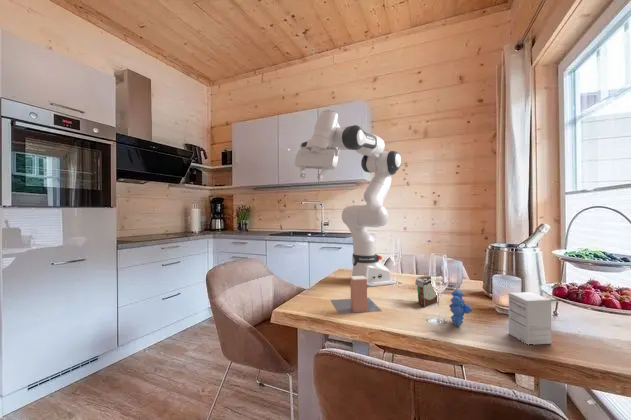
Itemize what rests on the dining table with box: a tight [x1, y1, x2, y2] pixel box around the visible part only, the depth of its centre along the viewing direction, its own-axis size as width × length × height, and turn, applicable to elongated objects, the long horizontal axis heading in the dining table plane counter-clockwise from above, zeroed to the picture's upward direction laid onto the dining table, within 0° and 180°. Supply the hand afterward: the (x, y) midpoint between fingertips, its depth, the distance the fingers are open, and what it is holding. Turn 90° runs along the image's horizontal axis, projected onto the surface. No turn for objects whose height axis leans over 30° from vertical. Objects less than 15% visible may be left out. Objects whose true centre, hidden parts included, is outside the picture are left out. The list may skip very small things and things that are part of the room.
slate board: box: [330, 297, 383, 315], centre depth 109 cm, size 16×15×1 cm
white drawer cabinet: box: [508, 291, 552, 346], centre depth 83 cm, size 7×7×13 cm
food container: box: [414, 275, 438, 309], centre depth 114 cm, size 12×6×10 cm, turn 124°
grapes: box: [449, 289, 473, 327], centre depth 92 cm, size 12×7×12 cm, turn 148°
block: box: [349, 275, 368, 313], centre depth 104 cm, size 5×4×12 cm
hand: (310, 178), depth 117 cm, fingers open, 8 cm apart
